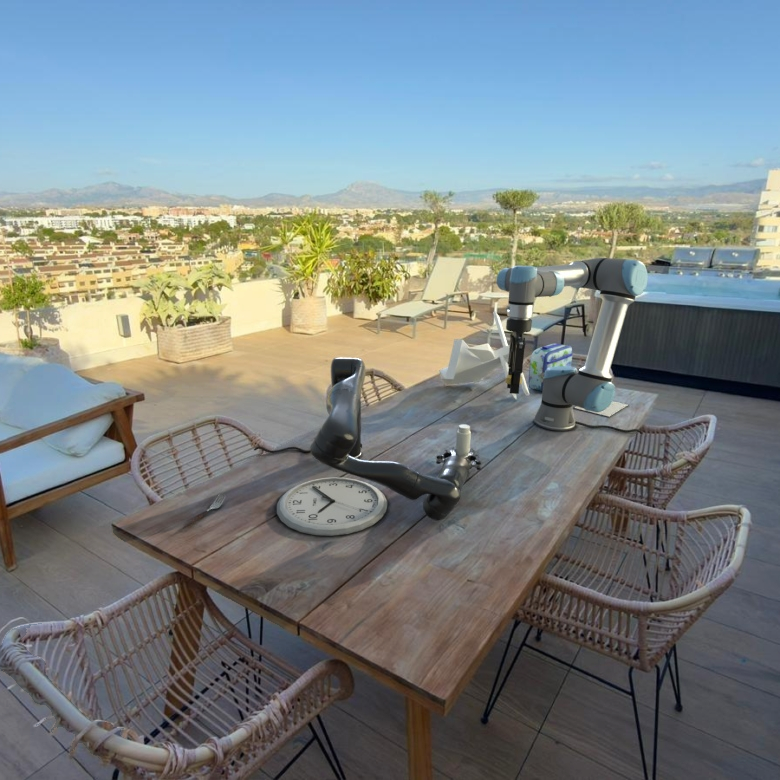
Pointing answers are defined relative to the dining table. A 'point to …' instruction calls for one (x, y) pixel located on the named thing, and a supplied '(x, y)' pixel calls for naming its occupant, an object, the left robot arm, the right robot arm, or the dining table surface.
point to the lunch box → (547, 362)
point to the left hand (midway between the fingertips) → (463, 450)
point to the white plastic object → (477, 361)
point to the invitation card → (608, 409)
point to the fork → (213, 506)
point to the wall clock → (331, 506)
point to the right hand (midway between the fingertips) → (512, 390)
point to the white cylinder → (463, 440)
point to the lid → (508, 379)
